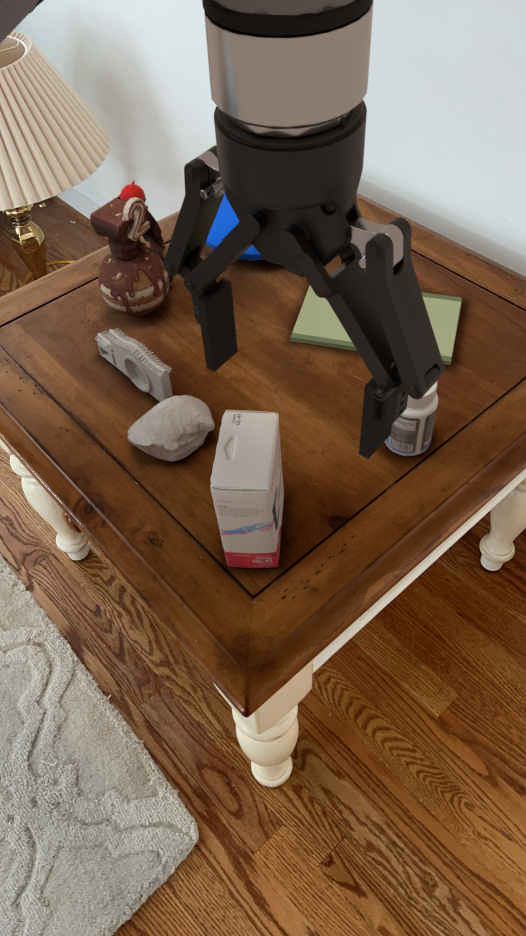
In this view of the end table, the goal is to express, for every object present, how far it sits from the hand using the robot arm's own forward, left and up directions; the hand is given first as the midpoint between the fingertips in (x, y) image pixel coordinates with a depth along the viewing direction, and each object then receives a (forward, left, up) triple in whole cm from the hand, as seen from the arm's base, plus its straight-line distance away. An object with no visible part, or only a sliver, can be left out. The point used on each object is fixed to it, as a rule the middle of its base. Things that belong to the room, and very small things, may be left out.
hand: (294, 400), depth 53 cm
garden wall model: (-22, +17, -20) cm, 34 cm away
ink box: (-4, +1, -20) cm, 20 cm away
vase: (-16, +45, -20) cm, 52 cm away
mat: (+2, +32, -19) cm, 37 cm away
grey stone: (-15, +10, -20) cm, 27 cm away
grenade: (-26, +29, -20) cm, 44 cm away
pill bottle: (+8, +15, -20) cm, 26 cm away
